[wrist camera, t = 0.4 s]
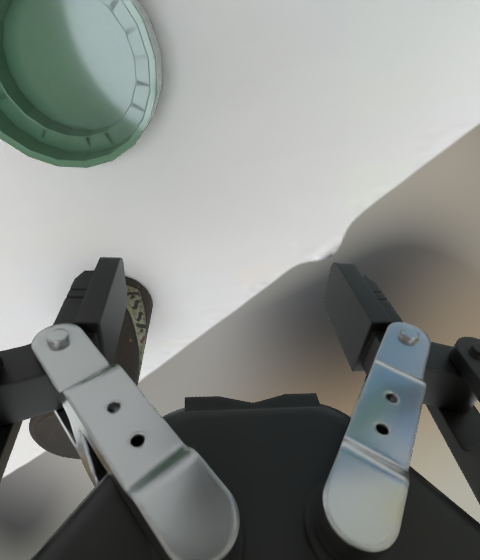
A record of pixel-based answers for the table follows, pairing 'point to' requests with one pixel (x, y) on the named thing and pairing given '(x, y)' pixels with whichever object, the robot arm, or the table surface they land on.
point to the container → (127, 356)
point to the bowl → (76, 78)
